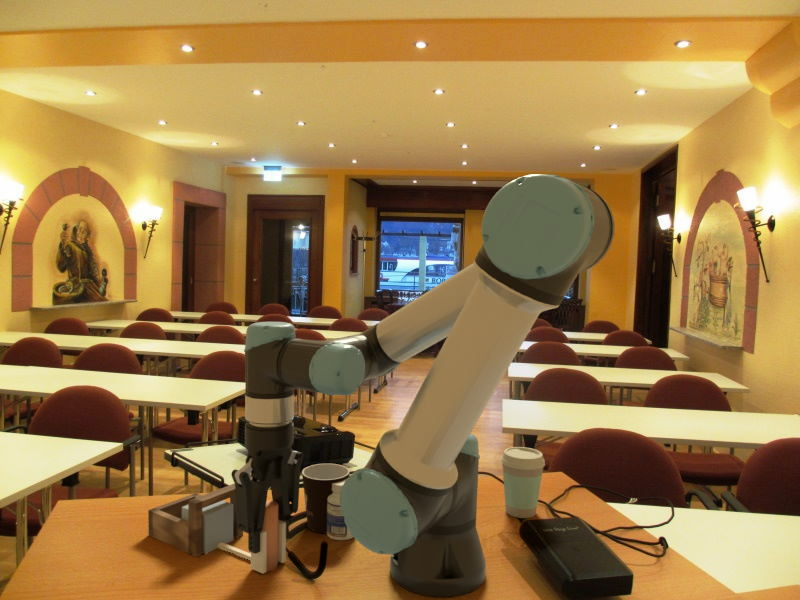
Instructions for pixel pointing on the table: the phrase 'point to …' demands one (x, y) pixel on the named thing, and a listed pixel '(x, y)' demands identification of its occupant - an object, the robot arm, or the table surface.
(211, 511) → the lopsided dumbbell
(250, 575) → the table surface
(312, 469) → the coffee mug
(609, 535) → the table surface
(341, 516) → the pill bottle
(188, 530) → the wooden frame
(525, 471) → the coffee cup
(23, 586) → the table surface
